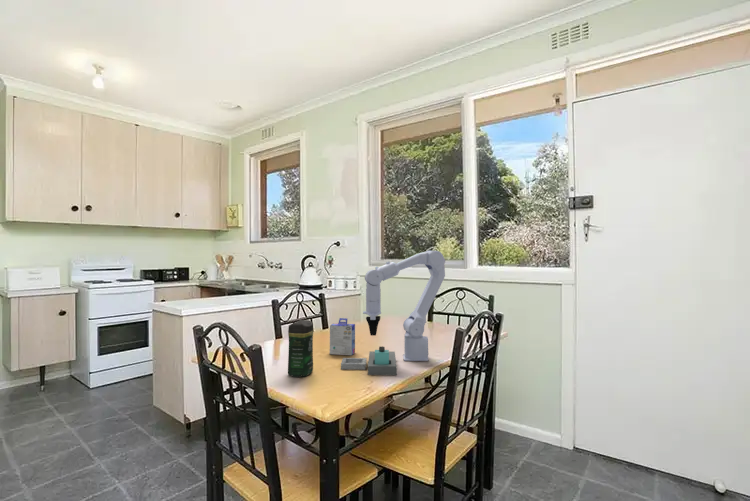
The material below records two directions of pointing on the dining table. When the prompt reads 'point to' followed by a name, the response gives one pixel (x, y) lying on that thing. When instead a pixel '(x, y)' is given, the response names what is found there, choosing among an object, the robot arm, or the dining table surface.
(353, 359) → the grey rectangular frame
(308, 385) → the dining table surface
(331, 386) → the dining table surface
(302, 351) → the coffee jar
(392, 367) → the switch box
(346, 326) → the ink cartridge box
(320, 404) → the dining table surface
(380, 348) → the plug
